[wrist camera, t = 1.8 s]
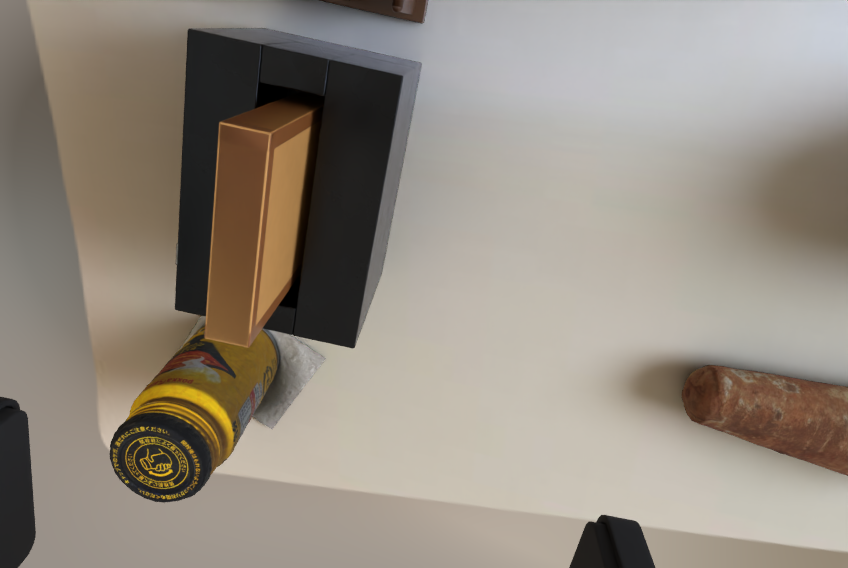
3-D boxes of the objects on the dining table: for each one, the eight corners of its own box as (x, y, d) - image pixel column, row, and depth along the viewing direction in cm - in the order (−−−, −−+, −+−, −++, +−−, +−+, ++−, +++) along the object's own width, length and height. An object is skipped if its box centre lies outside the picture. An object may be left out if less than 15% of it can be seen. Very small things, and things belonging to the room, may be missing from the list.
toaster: (247, 24, 34) (163, 22, 25) (422, 62, 34) (403, 76, 25) (229, 240, 39) (154, 306, 30) (381, 273, 39) (354, 349, 30)
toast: (301, 90, 31) (218, 121, 21) (336, 98, 31) (271, 133, 21) (283, 246, 34) (203, 338, 24) (314, 253, 34) (249, 348, 24)
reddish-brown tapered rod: (927, 475, 42) (990, 537, 37) (663, 404, 42) (689, 457, 36) (983, 400, 40) (1059, 456, 34) (703, 324, 39) (738, 369, 34)
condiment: (219, 287, 41) (124, 385, 29) (326, 357, 42) (275, 474, 31) (170, 363, 43) (67, 479, 32) (273, 426, 45) (208, 558, 34)
